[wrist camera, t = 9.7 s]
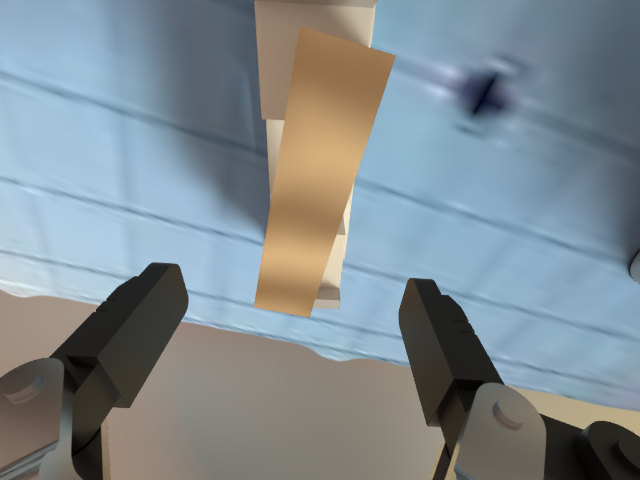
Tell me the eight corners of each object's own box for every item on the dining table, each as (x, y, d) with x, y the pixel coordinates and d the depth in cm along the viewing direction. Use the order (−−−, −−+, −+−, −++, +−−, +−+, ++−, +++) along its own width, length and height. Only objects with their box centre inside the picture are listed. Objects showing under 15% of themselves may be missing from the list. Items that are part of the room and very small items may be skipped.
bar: (306, 37, 14) (299, 26, 10) (377, 59, 15) (395, 55, 11) (265, 267, 23) (253, 307, 19) (311, 276, 23) (309, 317, 19)
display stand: (263, -4, 19) (220, -56, 11) (373, 3, 20) (406, -43, 12) (275, 247, 31) (257, 309, 23) (343, 251, 31) (350, 313, 23)
